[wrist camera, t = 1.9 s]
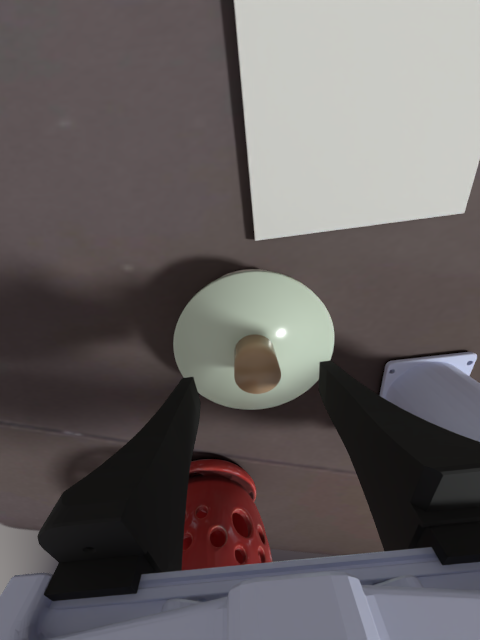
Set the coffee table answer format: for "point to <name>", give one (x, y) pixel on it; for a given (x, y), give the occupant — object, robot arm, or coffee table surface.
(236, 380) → the lid
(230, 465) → the plant pot
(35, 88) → the coffee table surface
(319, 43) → the mat
